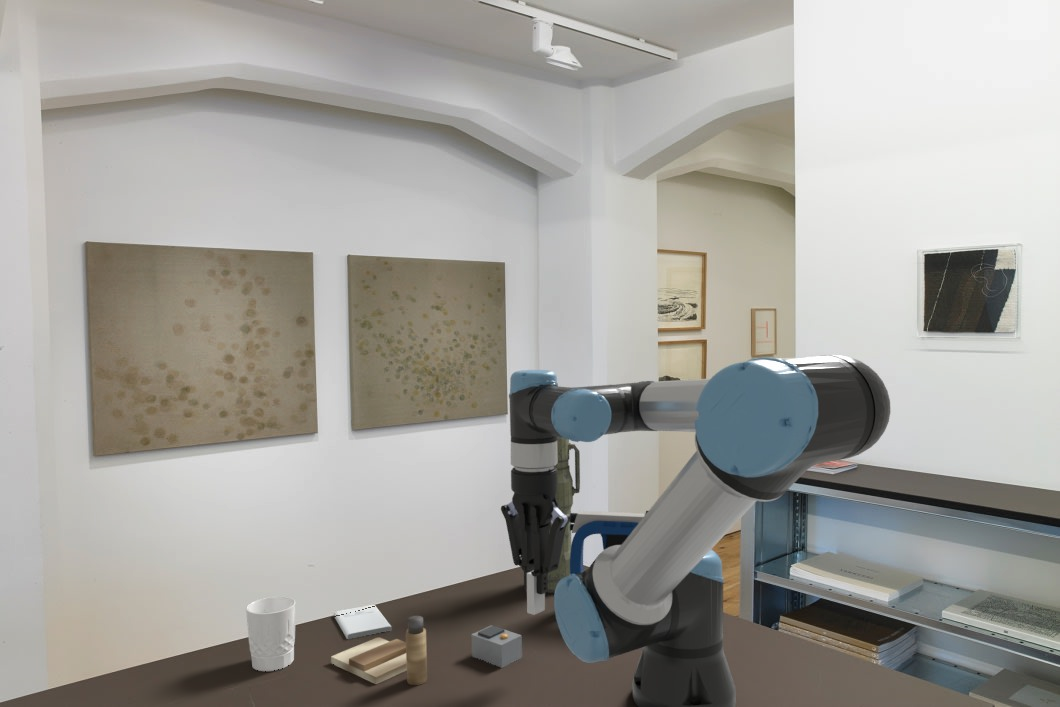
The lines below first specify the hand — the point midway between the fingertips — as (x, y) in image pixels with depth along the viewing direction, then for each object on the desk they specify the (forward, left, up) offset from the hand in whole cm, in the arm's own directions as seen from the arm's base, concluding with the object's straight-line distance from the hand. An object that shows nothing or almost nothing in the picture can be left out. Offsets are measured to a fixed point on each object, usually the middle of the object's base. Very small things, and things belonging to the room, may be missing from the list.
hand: (536, 611), depth 125 cm
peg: (+13, +14, -10) cm, 22 cm away
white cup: (+37, +25, -10) cm, 46 cm away
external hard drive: (+39, +5, -11) cm, 41 cm away
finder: (+9, 0, -10) cm, 14 cm away
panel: (+23, +14, -10) cm, 29 cm away
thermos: (+23, -33, -10) cm, 42 cm away
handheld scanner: (+5, -29, -10) cm, 31 cm away
